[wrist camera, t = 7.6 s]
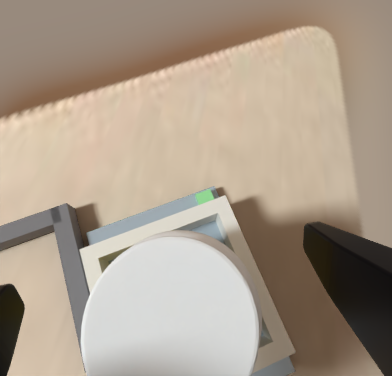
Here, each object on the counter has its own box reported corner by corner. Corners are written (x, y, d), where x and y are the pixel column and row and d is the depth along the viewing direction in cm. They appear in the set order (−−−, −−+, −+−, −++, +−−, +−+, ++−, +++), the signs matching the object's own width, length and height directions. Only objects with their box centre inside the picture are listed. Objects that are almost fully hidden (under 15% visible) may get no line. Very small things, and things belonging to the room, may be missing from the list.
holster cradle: (111, 358, 15) (104, 364, 14) (-65, 434, 13) (-89, 447, 12) (74, 208, 17) (66, 203, 16) (-75, 260, 16) (-94, 258, 15)
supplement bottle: (213, 238, 16) (240, 179, 7) (248, 333, 15) (345, 420, 5) (125, 269, 16) (28, 249, 6) (152, 372, 14) (72, 548, 5)
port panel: (291, 367, 15) (309, 382, 12) (142, 440, 13) (132, 470, 11) (213, 189, 18) (216, 175, 16) (89, 234, 17) (73, 226, 15)
